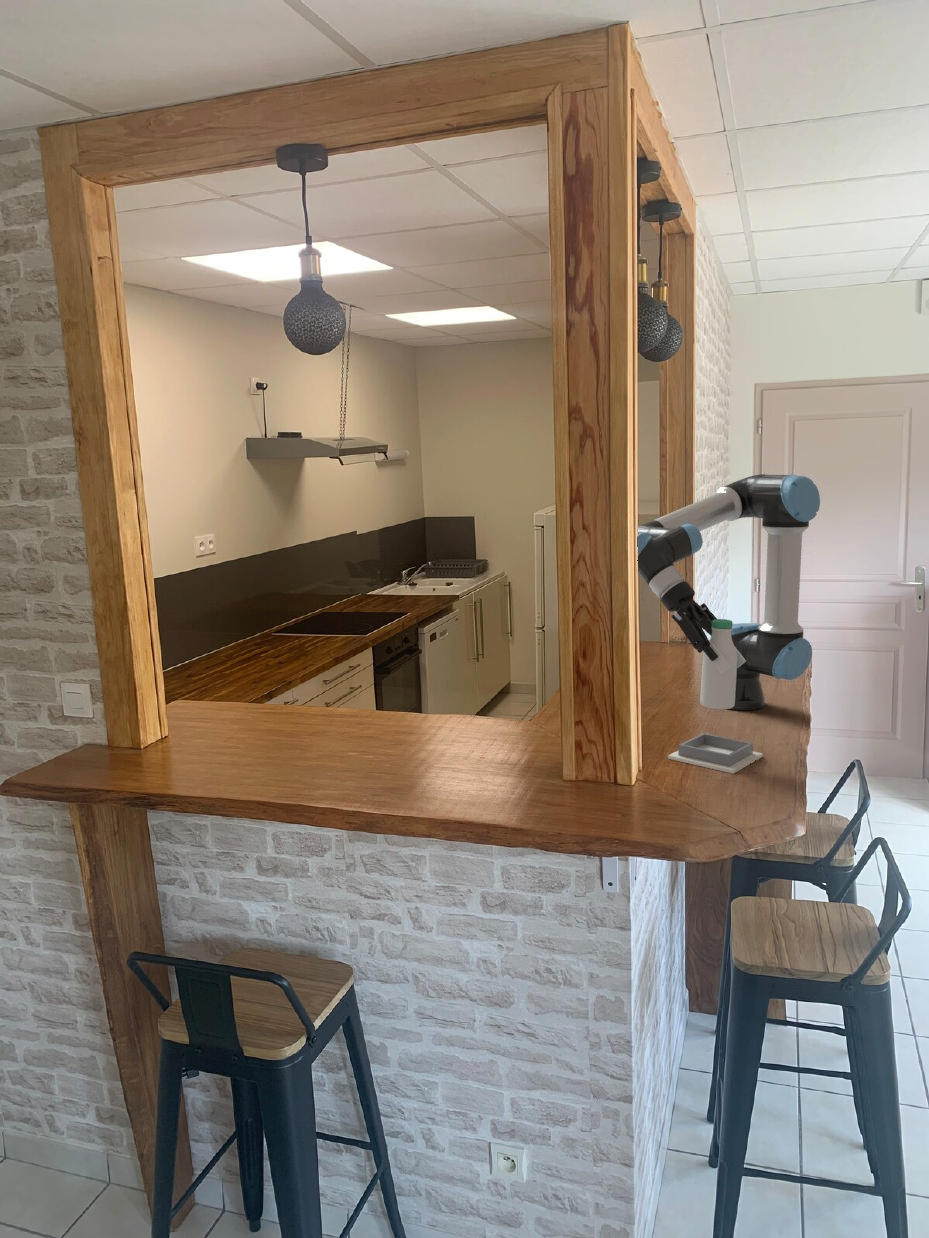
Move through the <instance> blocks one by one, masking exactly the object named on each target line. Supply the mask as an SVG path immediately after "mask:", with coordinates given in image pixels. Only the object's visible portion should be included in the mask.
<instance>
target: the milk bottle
mask: <svg viewBox="0 0 929 1238" xmlns="http://www.w3.org/2000/svg"><path fill="white" fill-rule="evenodd" d="M733 624H734V623H733V621H732V620H730V619H725V618H717V619H714V620H712V628H711V629H712V635H710V638H709V639H708V640H709V642H710V645H711V644H714V645H715V647H716V648H717V649H718V650H719V652H720V653H721V654H722V655H723V657H724V658H725V659H726V660H727V662H728V663H729V664H730V666H731V667H730V668H729V669H728V670H727V671H726V672H724V673H723V674H721V673H720V672H719V671H718V669H717V668H716V667H715V665H714V664H713V663H712V662H711V660H710V659H709V658H708V657H707V655H706V654H705V653H704V652H703V654H702V655H703V656H702V664H701V677H700V679H701V682H700V683H701V684H700V696H699V697H700V699H699V700H700V701H699V702H700V705H701V706H703V707H704V708H708V709H713V710H728V709H729V710H731V709H730V708H733V707H734V705H735V693H736V676H737V653H736V649H735V646H734V644H733V641H732V637H731V631H732V625H733Z"/></svg>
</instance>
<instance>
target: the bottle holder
mask: <svg viewBox="0 0 929 1238" xmlns="http://www.w3.org/2000/svg"><path fill="white" fill-rule="evenodd" d="M763 754H764V753H762V752H758V751H754V743H753V742H749V741H744V740H740V739H734V738H729V737H726V736H725V737H724V736H720V735H715V734H711V733H706V732H702V733H700V734H697V735H696V736H694V737H692V738H690V739H688V740H685V741H684V742H681V743H678V750H677V751H674V752H672V753H670V754H668V755H667V759H669V760H672V761H677V762H681V763H686V764H690V765H694V766H697V767H702V768H707V769H711V770H715V771H720V772H724V773H728V774H732V775H734V774H736V773H737V772H739V771H740V770H742V769H745V768H746V767H748V766H749V765H750V763H751V764H752V763H754V762H756V761H758V760H760V759H761V758H763ZM755 760H756V761H755Z"/></svg>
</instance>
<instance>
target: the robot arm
mask: <svg viewBox="0 0 929 1238" xmlns="http://www.w3.org/2000/svg"><path fill="white" fill-rule="evenodd" d="M820 506H821V496H820V491H819V489H818V486H817V485H816V484H815V483H814V481H813V480H812V479H811V478H809V477H807V476H805V475H797V474H765V473H764V474H761V473H760V474H754V475H751V476H746V477H744V478H741V479H738V480H736V481H734V482H731V483H729V484H726V485H724V486H721V487H720V488H718V489H717V490H716V491H715V493H714V494H713V495H710V496H708V497H705V498H703V499H701V500H700V499H699V500H698V501H696V502H694V503H691V504H689V505H686V506H684V507H681V508H679V509H677V510H674V511H672V512H669V513H666V514H665V515H662V516H660V517H658V518H655V519H653V520H650V521H648V522H644V523H642V524H637V525H638V536H637V547H638V560H637V561H638V572H637V573H638V574H639V576H640V577H641V578H642V579H643V580H644V582H646V584H647V585H648V587H650V589H651V592H652V593H653V594H655V595H656V597H657V598H658V599H660V602H661V603H662V604H663V606H664V607H665V608H666V610H667V611H669V612H670V613H671V612H672V613H673V612H674V613H673V614H672V615H671V618H672V619H673V620H674V622H676V624H677V625H678V626H679V628H680V629H681V631H682V632H683V634H684V635H685V636H686V638H687V640H688V641H689V643H690V644H691V645H692V647H693V648H694V650H696V652H697V653H699V654H701V653H702V652H703V654H704V653H705V654H706V655H707V657H708V658H709V659H710V660H711V662H712V663H713V664H714V665H715V667H716V668H717V669H718V671H719V672H720V673H721V674H723V673H724V672H726V671H727V670H728V669H729V668H730V667H731V666H730V664H729V663H728V662H727V660H726V659H725V658H724V657H723V655H722V654H721V653H720V652H719V650H718V649H717V648H716V647H715V645H714V644H711V645H710V642H709V640H710V639H709V638H708V636H707V634H708V635H709V636H711V635H712V629H711V628H712V620H714V619H718V618H717V617H716V615H714V614H713V612H712V611H711V610H710V608H709V607H708V605H707V604H706V603H704V602H703V603H701V604H700V605H699V603H698V602H696V601H695V599H694V596H695V594H696V592H695V590H694V588H693V587H692V586H691V585H690V584H689V583H688V581H685V577H684V576H683V575H682V574H681V572H680V571H679V570H678V568H677V567H676V566H675V565H674V564H675V563H678V562H680V561H683V560H684V559H686V558H689V557H692V555H694V554H696V553H698V552H699V551H700V550H701V549H702V547H703V541H704V540H703V537H702V536H703V535H702V533H701V532H702V531H704V530H706V529H709V528H711V527H713V526H716V525H717V524H720V523H723V522H724V521H727V522H735V521H737V520H739V519H743V518H744V519H745V518H755V519H756V518H757V519H758V518H759V519H761V520H762V523H761V525H762V526H761V527H762V529H764V530H765V531H766V533H767V542H766V543H767V546H766V547H767V549H766V567H765V573H766V574H765V591H764V592H765V593H764V594H765V595H764V614H763V615H764V619H763V622H762V623H758V622H757V623H756V622H755V623H754V622H747V623H746V622H745V623H733V625H732V631H731V637H732V641H733V644H734V646H735V649H736V653H737V676H736V693H735V705H734V707H733V708H730V709H729V710H734V711H735V710H737V711H752V710H760V709H762V708H764V707H765V704H766V701H765V700H766V699H765V698H766V697H765V694H764V690H763V686H762V683H761V680H760V678H761V675H765V676H769V677H772V678H776V679H778V680H781V679H782V680H786V681H787V680H788V681H792V680H796V679H798V678H799V677H801V676H802V675H803V674H805V671H807V669H808V668H809V666H810V664H811V661H812V659H813V658H812V657H813V647H812V645H811V644H810V643H811V642H810V641H809V640H807V639H806V638H804V628H803V627H802V626H801V625H800V624H799V610H800V609H799V606H800V605H799V604H800V590H801V589H800V585H801V563H802V544H803V543H802V542H803V534H804V532H806V530H807V529H809V527H810V521H812V520H813V519H815V517H816V516H817V513H818V512H819V510H820ZM705 632H706V633H707V634H706V633H705ZM760 674H761V675H760Z"/></svg>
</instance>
